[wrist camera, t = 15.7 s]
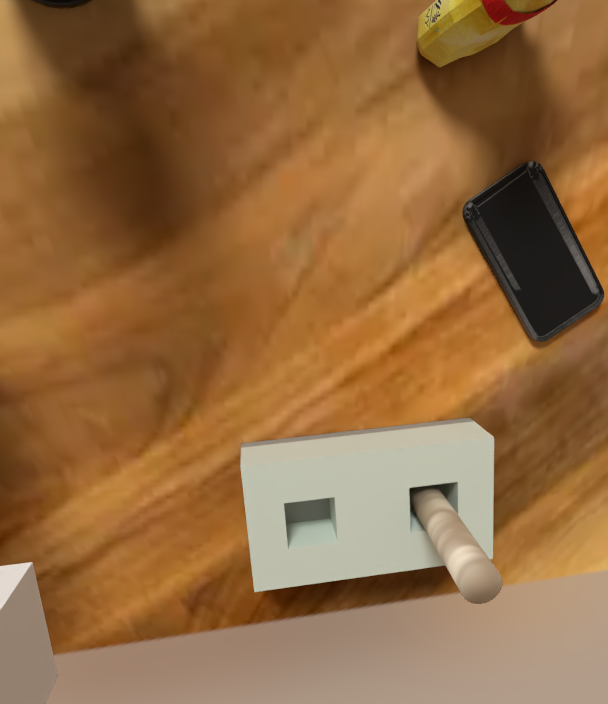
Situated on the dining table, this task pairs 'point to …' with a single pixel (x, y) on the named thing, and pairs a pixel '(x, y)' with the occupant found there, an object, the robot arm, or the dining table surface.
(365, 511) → the hole block
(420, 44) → the chocolate bunny
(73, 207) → the dining table surface
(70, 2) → the french press
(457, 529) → the birch pin
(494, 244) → the phone
